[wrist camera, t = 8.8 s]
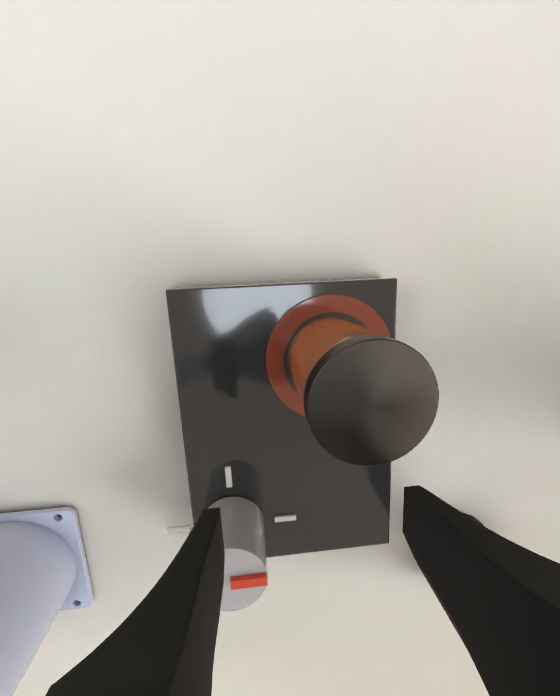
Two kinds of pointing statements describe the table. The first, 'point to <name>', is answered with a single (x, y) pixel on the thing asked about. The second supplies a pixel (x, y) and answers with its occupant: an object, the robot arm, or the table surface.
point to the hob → (268, 419)
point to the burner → (301, 317)
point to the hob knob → (242, 552)
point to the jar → (362, 391)
